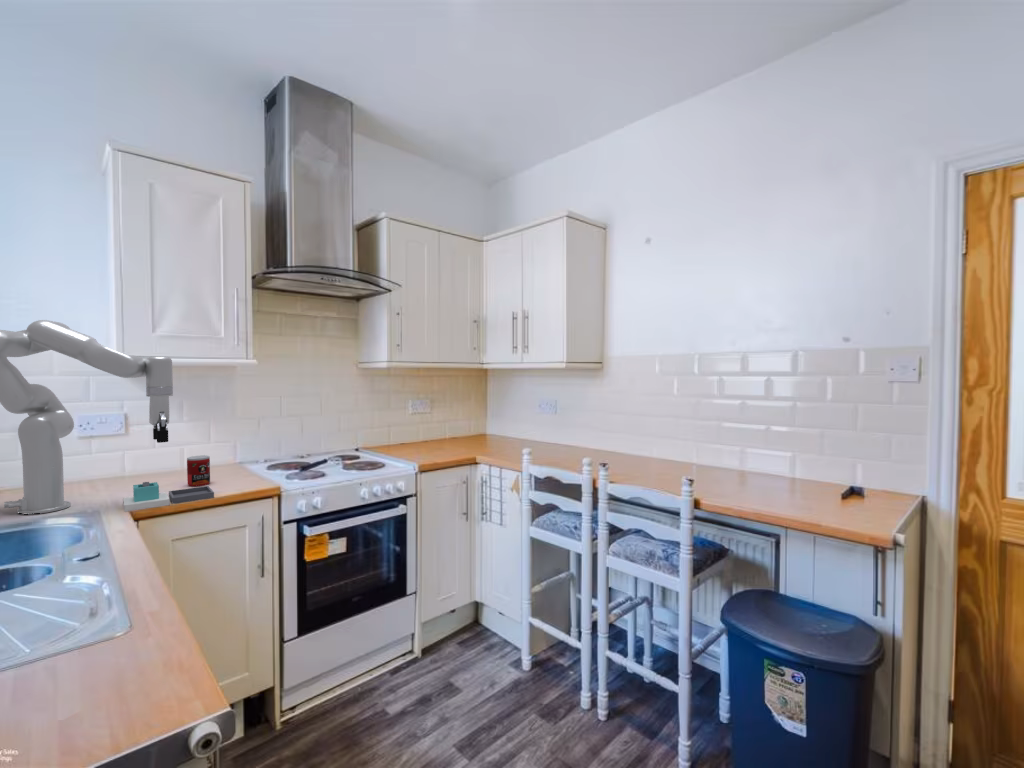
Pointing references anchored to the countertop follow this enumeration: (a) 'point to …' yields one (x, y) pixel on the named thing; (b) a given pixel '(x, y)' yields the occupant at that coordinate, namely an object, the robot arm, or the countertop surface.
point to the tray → (191, 494)
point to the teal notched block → (146, 492)
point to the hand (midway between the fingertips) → (160, 440)
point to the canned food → (198, 470)
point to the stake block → (132, 505)
